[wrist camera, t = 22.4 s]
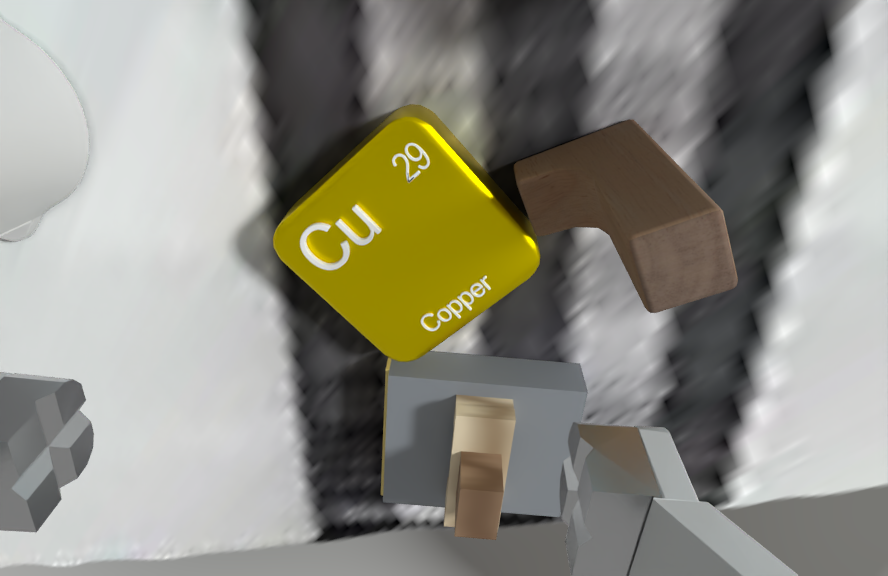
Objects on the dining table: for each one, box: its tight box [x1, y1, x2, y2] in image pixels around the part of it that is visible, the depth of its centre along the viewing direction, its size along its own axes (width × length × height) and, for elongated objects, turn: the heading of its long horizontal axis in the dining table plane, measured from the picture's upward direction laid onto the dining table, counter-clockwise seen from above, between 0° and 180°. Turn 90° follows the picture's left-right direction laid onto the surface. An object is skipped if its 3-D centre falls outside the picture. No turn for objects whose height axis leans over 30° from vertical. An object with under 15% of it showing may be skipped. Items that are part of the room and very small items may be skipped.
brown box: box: [455, 451, 504, 540], centre depth 49 cm, size 3×5×4 cm, turn 175°
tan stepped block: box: [444, 395, 516, 531], centre depth 53 cm, size 5×12×3 cm, turn 176°
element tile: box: [273, 104, 540, 362], centre depth 47 cm, size 15×15×5 cm
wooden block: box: [514, 120, 738, 313], centre depth 38 cm, size 9×4×18 cm, turn 112°
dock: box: [381, 351, 588, 517], centre depth 56 cm, size 16×14×4 cm
